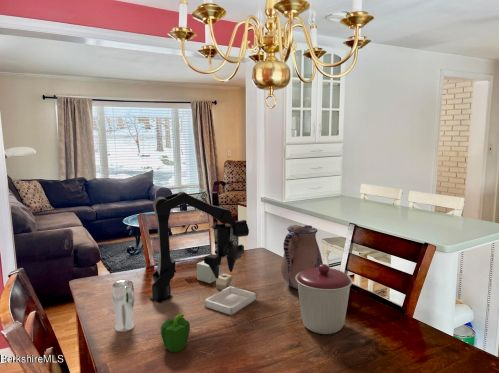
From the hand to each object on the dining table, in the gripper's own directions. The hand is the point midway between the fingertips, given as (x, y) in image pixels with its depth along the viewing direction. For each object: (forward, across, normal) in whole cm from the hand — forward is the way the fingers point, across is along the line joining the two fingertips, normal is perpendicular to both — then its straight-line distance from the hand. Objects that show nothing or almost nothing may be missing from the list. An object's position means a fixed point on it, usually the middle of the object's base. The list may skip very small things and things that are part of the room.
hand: (224, 275), depth 152 cm
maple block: (+6, 0, 0) cm, 6 cm away
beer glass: (+6, -44, +7) cm, 45 cm away
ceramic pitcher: (+6, +18, -26) cm, 32 cm away
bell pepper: (+6, -43, -16) cm, 46 cm away
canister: (+6, -7, -47) cm, 48 cm away
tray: (+6, -10, -11) cm, 16 cm away
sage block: (+6, +4, +12) cm, 14 cm away
